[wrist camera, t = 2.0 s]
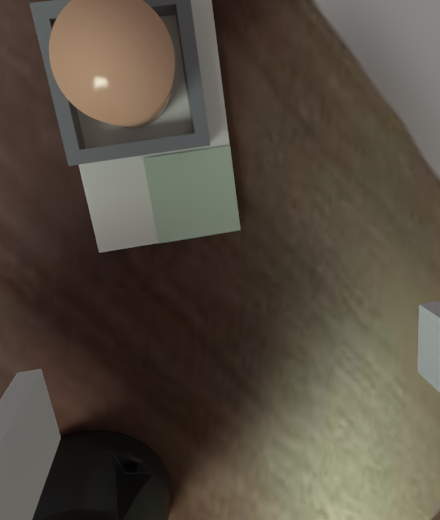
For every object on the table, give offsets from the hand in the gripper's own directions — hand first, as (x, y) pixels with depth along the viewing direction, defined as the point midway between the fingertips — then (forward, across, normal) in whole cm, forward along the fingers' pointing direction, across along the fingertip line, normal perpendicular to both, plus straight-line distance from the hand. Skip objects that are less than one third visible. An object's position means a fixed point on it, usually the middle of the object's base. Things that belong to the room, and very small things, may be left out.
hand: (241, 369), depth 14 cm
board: (+23, -2, +9) cm, 24 cm away
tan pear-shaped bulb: (+22, -4, +13) cm, 26 cm away
